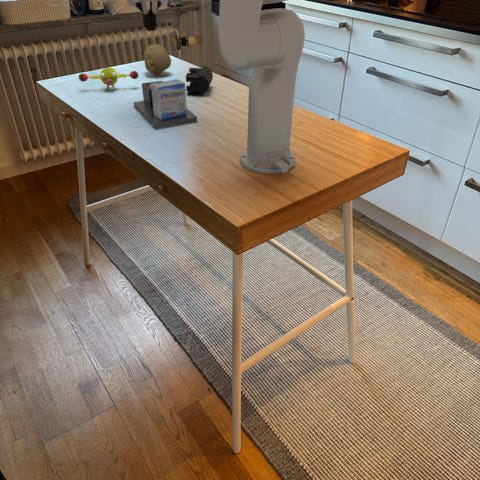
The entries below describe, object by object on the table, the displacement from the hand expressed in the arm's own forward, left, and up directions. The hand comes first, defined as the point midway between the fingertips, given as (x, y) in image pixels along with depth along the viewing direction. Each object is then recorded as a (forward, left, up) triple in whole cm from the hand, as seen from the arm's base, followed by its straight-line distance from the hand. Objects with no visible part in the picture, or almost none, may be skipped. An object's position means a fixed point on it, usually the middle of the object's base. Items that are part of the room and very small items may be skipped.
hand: (150, 29), depth 118 cm
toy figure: (+21, +8, -21) cm, 31 cm away
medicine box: (-11, 0, -20) cm, 22 cm away
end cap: (+8, -17, -21) cm, 28 cm away
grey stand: (-6, 0, -21) cm, 22 cm away
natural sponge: (+30, -11, -21) cm, 38 cm away
